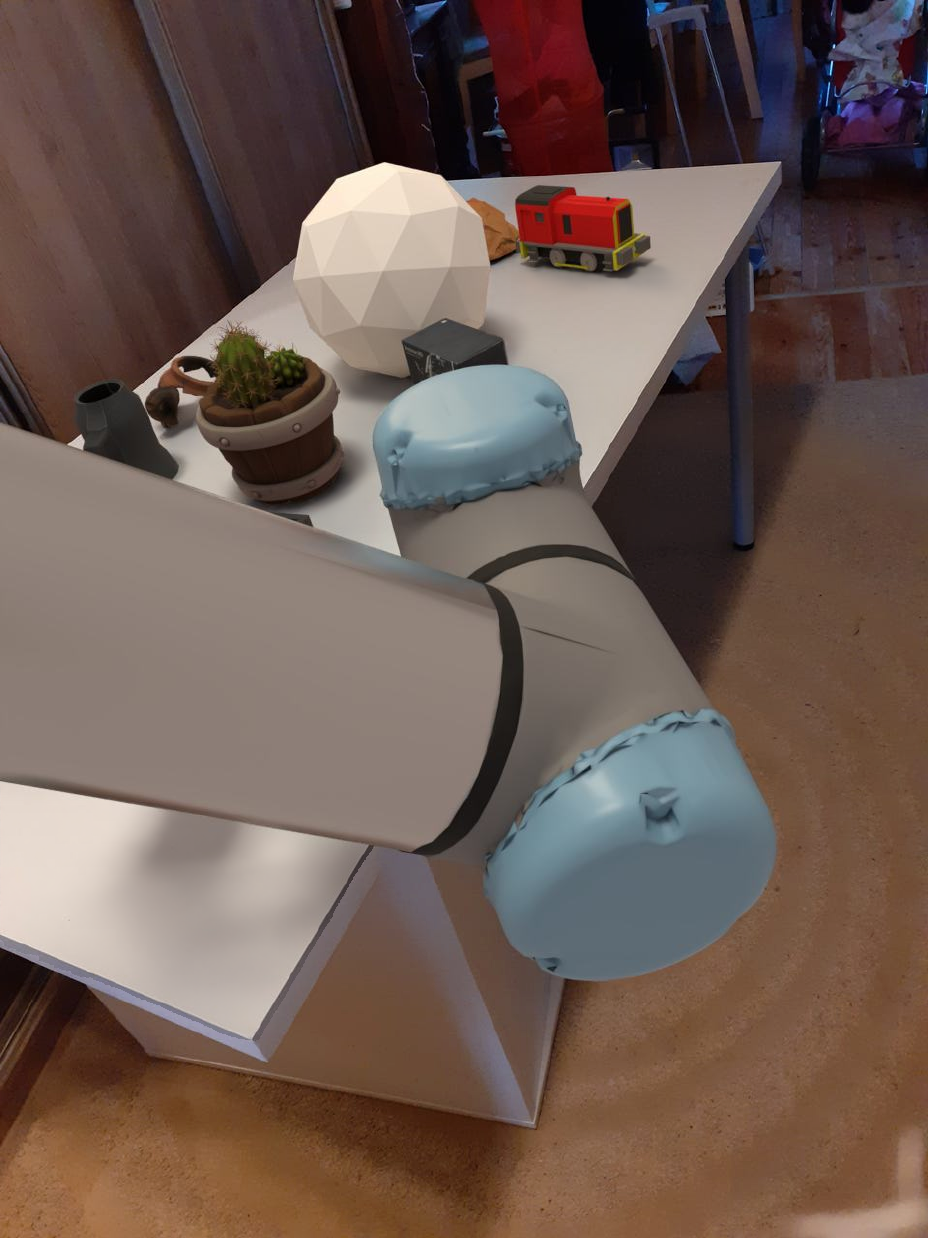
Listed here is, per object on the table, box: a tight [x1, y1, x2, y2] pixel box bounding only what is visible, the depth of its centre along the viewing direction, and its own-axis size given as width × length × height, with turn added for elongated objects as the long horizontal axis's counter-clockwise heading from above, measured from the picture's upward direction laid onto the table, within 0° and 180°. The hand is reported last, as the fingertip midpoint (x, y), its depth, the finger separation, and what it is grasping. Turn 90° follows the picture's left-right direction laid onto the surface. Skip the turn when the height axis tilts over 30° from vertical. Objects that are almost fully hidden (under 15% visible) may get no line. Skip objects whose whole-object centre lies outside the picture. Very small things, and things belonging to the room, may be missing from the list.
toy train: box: [514, 184, 652, 272], centre depth 130 cm, size 7×19×10 cm, turn 47°
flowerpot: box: [195, 319, 345, 506], centre depth 94 cm, size 14×15×20 cm
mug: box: [73, 378, 179, 480], centre depth 103 cm, size 12×9×11 cm
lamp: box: [292, 161, 491, 379], centre depth 116 cm, size 23×35×24 cm, turn 0°
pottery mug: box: [144, 355, 219, 428], centre depth 116 cm, size 12×10×8 cm
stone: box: [465, 197, 520, 262], centre depth 143 cm, size 15×15×10 cm
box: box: [401, 318, 510, 386], centre depth 99 cm, size 11×7×10 cm, turn 37°
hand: (29, 620), depth 56 cm, fingers closed on container, 9 cm apart
